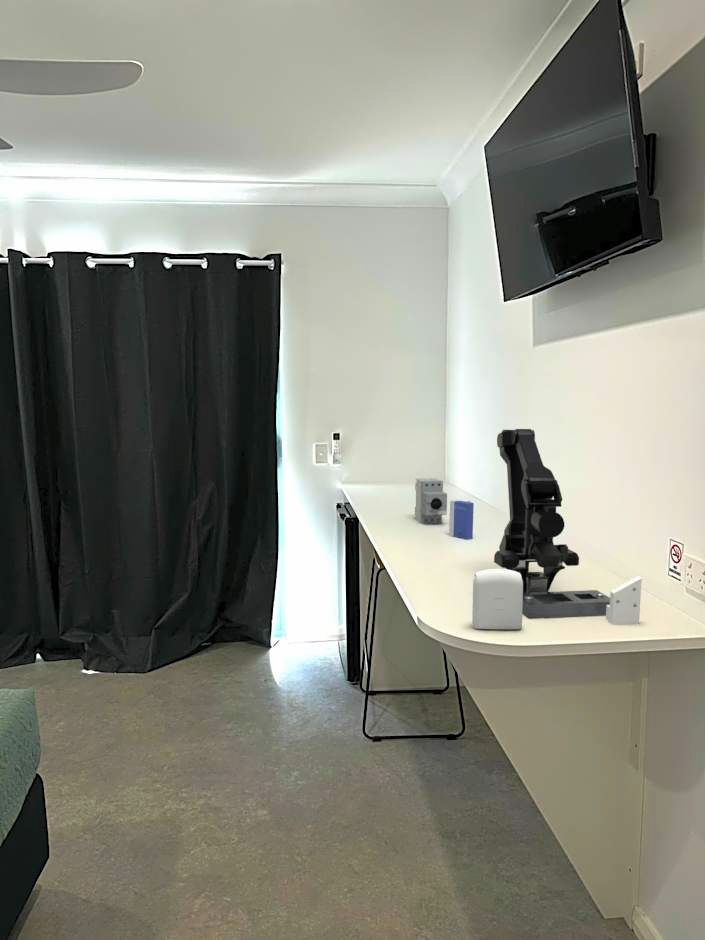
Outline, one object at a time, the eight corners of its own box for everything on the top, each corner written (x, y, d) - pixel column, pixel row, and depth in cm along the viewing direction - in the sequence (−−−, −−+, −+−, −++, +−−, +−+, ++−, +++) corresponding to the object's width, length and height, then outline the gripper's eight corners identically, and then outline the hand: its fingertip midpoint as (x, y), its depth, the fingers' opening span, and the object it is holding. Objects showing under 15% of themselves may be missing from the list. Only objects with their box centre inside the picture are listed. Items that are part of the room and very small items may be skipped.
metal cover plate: (513, 606, 172) (514, 591, 171) (595, 602, 175) (596, 588, 175) (529, 618, 163) (529, 603, 162) (615, 614, 166) (616, 599, 166)
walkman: (472, 538, 243) (473, 501, 242) (466, 539, 242) (467, 502, 240) (454, 534, 249) (455, 498, 248) (448, 535, 248) (449, 499, 246)
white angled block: (660, 613, 160) (641, 578, 159) (618, 636, 160) (599, 601, 159) (652, 607, 163) (634, 573, 162) (611, 630, 164) (593, 596, 163)
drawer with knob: (522, 597, 179) (523, 571, 178) (539, 596, 180) (540, 570, 179) (529, 602, 175) (530, 575, 174) (547, 601, 176) (548, 575, 175)
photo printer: (473, 630, 155) (474, 571, 154) (470, 623, 159) (472, 566, 158) (523, 631, 155) (525, 572, 153) (519, 624, 159) (521, 567, 157)
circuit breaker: (427, 527, 262) (428, 484, 260) (414, 519, 275) (415, 478, 274) (448, 526, 263) (449, 483, 262) (434, 518, 277) (435, 478, 275)
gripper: (512, 536, 166) (509, 606, 168) (591, 534, 169) (588, 602, 171) (494, 526, 177) (492, 592, 179) (569, 525, 180) (566, 589, 182)
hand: (535, 594), depth 177 cm, fingers open, 5 cm apart
